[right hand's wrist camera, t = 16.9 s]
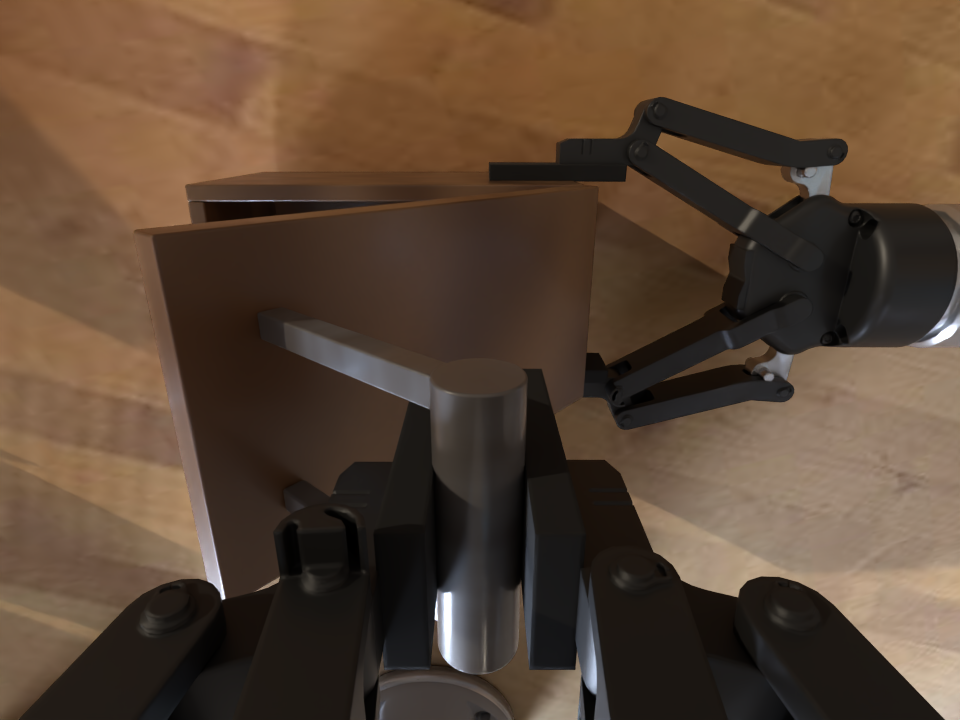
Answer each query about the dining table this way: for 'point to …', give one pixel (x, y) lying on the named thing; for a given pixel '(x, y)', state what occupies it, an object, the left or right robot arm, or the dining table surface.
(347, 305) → the lid
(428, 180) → the chest
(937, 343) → the left robot arm
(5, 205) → the dining table surface
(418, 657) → the right robot arm
